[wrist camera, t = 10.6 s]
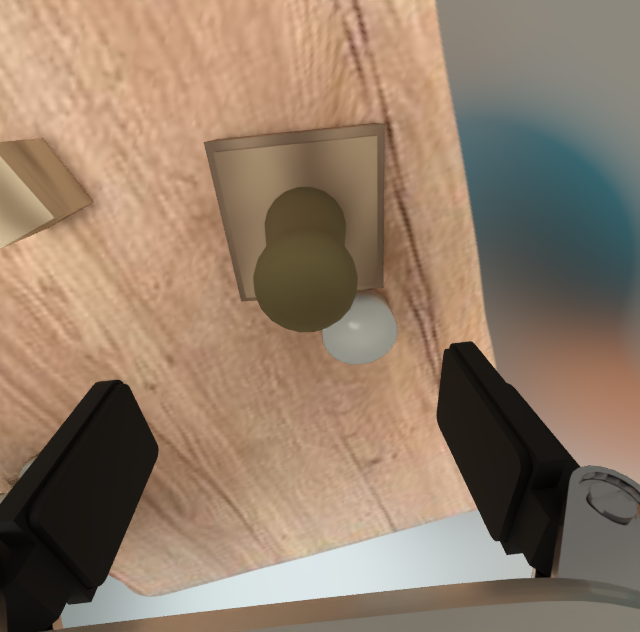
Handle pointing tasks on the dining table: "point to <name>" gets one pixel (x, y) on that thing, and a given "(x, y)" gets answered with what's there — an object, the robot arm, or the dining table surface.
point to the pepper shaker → (305, 262)
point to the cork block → (34, 190)
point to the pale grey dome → (362, 330)
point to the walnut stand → (302, 171)
